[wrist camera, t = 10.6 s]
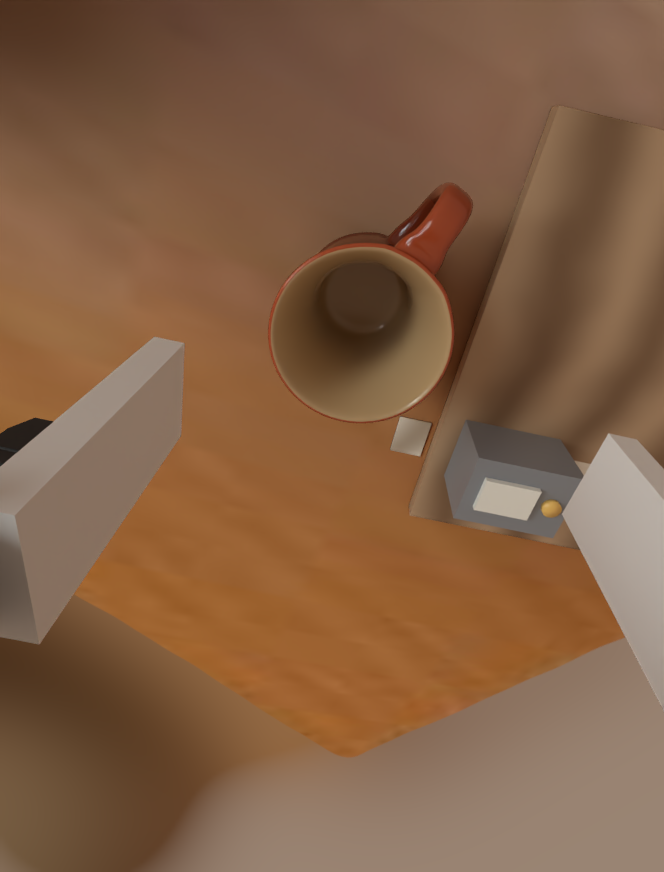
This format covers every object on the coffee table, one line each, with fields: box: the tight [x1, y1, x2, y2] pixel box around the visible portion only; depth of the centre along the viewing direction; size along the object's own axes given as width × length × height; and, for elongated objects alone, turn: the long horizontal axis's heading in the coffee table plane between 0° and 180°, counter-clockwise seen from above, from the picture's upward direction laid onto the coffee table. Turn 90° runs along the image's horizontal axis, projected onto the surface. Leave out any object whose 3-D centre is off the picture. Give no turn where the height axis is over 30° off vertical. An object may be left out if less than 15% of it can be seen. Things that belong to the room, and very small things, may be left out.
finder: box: [444, 420, 584, 538], centre depth 33 cm, size 7×5×5 cm
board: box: [390, 105, 664, 550], centre depth 33 cm, size 23×28×1 cm
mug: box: [268, 182, 473, 423], centre depth 26 cm, size 12×9×10 cm
